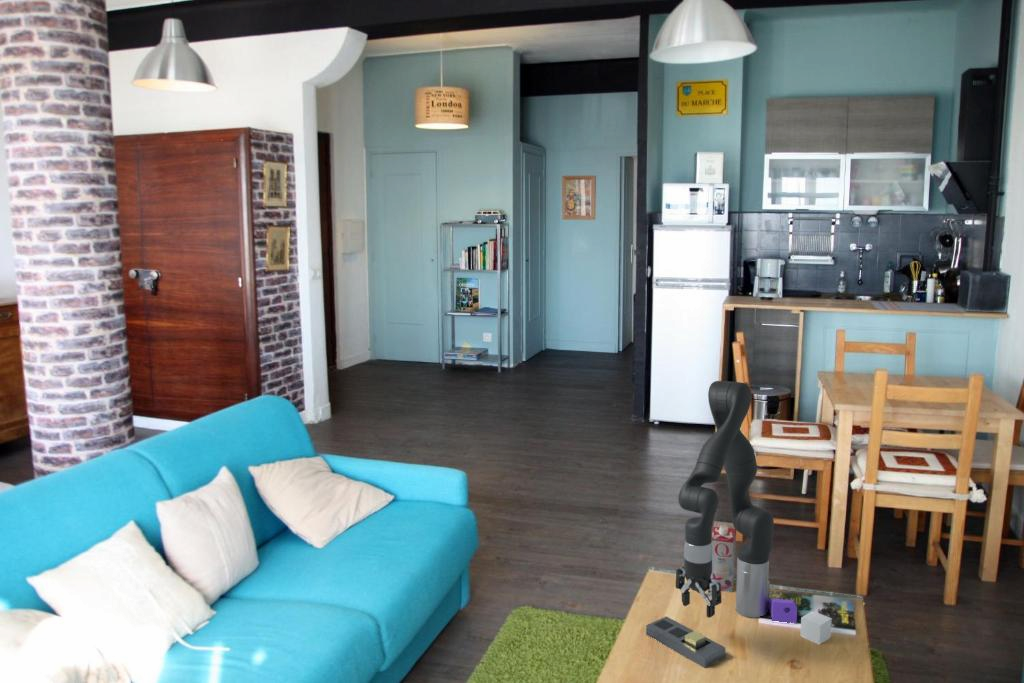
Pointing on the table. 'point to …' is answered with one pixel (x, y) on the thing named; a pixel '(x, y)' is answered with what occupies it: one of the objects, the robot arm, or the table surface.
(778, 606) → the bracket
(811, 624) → the light grey cube
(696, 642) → the brushed gold cube
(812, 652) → the table surface
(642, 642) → the table surface
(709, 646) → the silver slotted board
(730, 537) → the juice carton
